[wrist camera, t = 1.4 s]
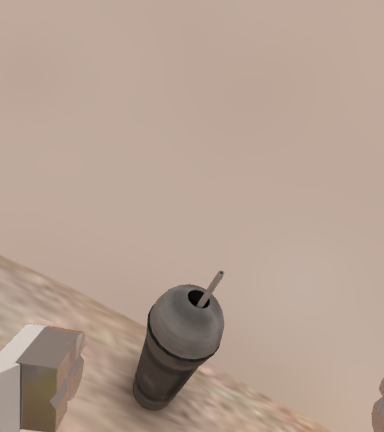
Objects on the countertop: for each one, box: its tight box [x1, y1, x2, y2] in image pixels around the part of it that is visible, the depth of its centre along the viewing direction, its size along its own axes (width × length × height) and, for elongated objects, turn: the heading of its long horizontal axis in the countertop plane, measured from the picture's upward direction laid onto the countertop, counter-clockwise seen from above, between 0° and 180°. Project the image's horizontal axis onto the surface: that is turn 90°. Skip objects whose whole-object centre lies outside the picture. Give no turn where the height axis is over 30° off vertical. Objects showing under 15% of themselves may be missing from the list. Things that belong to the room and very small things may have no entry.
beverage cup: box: [133, 270, 224, 410], centre depth 33 cm, size 7×7×20 cm
